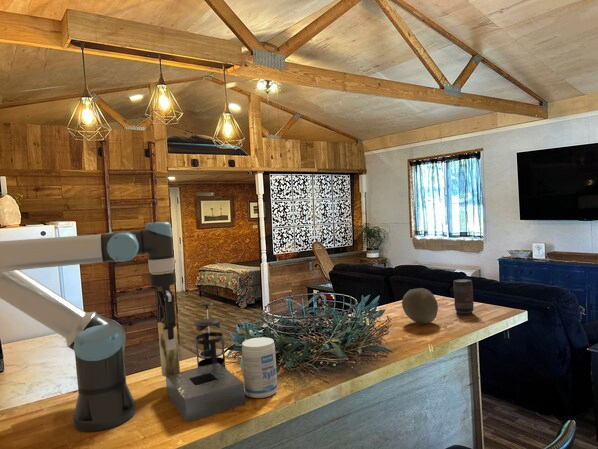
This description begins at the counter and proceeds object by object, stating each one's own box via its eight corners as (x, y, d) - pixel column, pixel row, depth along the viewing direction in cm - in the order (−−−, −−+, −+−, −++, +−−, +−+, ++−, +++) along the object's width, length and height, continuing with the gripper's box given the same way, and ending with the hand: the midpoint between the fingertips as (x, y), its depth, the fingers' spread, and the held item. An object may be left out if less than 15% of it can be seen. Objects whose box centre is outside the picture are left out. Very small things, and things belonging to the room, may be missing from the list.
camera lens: (475, 312, 194) (474, 279, 194) (472, 316, 188) (470, 282, 187) (457, 310, 199) (455, 278, 198) (452, 315, 192) (451, 281, 191)
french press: (230, 373, 140) (225, 303, 140) (201, 380, 136) (195, 308, 136) (220, 363, 151) (215, 297, 150) (193, 368, 147) (188, 302, 146)
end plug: (164, 378, 130) (159, 321, 130) (160, 372, 135) (155, 318, 134) (182, 373, 133) (177, 318, 132) (177, 368, 138) (173, 315, 137)
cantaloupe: (425, 317, 191) (423, 284, 190) (445, 325, 178) (443, 289, 177) (397, 322, 187) (395, 287, 186) (416, 330, 173) (414, 293, 173)
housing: (186, 422, 109) (185, 399, 109) (167, 395, 127) (165, 375, 126) (245, 404, 117) (243, 382, 117) (219, 381, 135) (217, 362, 134)
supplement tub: (270, 400, 119) (266, 348, 118) (239, 398, 122) (235, 346, 121) (282, 386, 128) (279, 337, 127) (253, 384, 131) (249, 336, 130)
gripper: (182, 273, 127) (189, 351, 128) (167, 268, 143) (173, 337, 143) (156, 277, 123) (163, 357, 124) (143, 271, 139) (149, 342, 140)
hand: (168, 346), depth 134 cm, fingers closed on end plug, 5 cm apart
